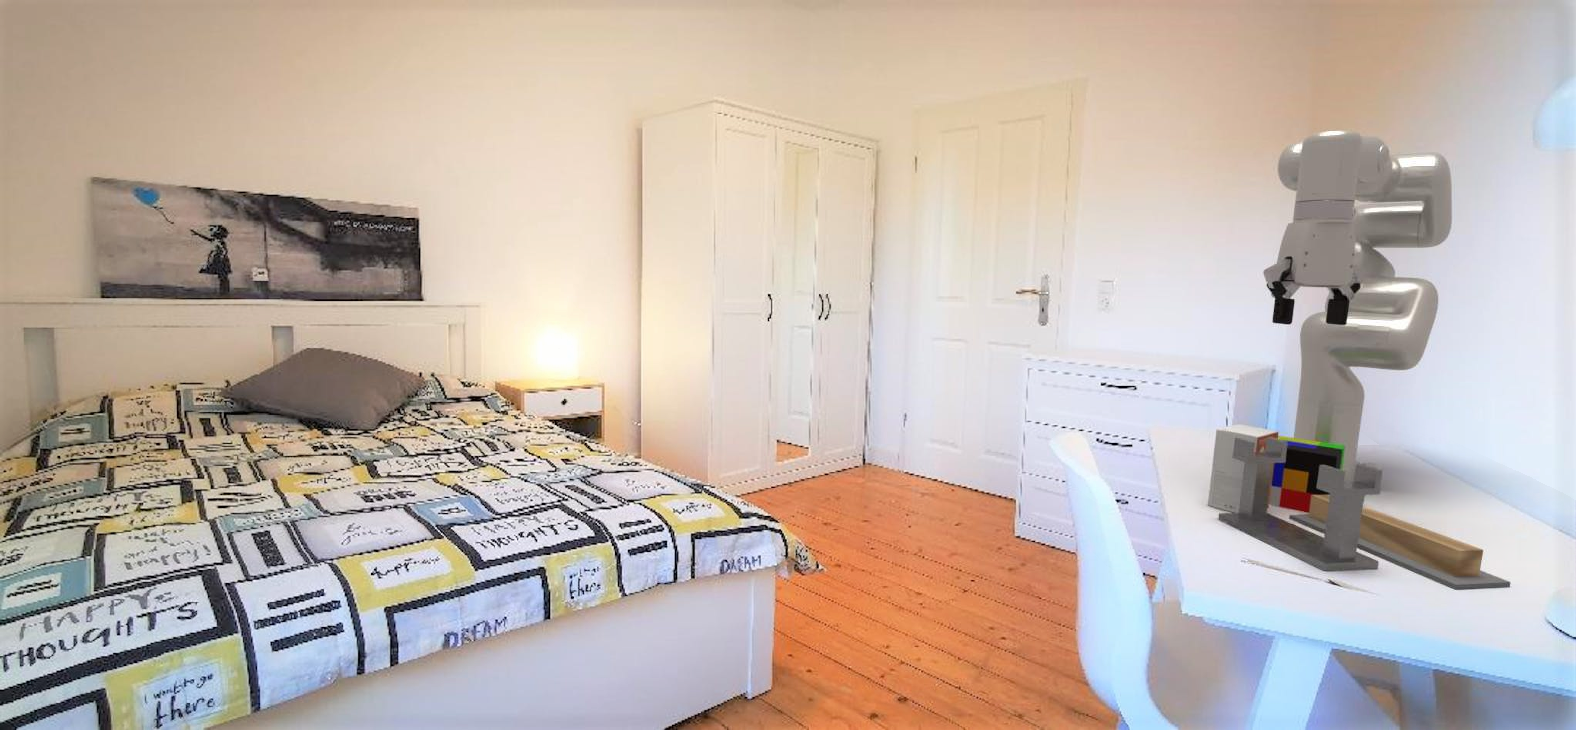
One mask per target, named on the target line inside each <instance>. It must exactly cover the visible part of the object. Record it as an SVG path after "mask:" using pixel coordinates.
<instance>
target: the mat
mask: <svg viewBox="0 0 1576 730" xmlns="http://www.w3.org/2000/svg"><path fill="white" fill-rule="evenodd" d="M1288 519H1290V520H1291V521H1292V520H1293V521H1294V522H1296V523H1299V524H1302V525H1304V526H1306V527H1308V528H1310V529H1313V530H1315V531H1318V532H1319V533H1322V534H1325V528H1326V524H1325V523H1323V522H1320V521H1318V520H1316V519H1313V518H1311V517H1309V513H1305V514H1289V518H1288ZM1357 549H1359V550H1362V551H1365V552H1367V553H1369V554H1372V555H1374V556H1376V557H1379V558H1381V559H1383V560H1386V561H1388V562H1391V563H1393V564H1395V565H1396V566H1400V567H1402V568H1404V569H1407V570H1409V571H1411V572H1414V573H1416V574H1419V575H1421V576H1423V577H1425V578H1427V579H1430V580H1433V581H1435V582H1438V583H1439V582H1440V583H1439V584H1442V585H1444V586H1447V587H1449V588H1451V589H1453V590H1468V589H1471V588H1472V589H1487V588H1488V589H1489V588H1505V587H1506V588H1507V587H1511V581H1508V580H1506V579H1504V578H1501V577H1498V576H1497V575H1494V574H1491V573H1488V572H1485V571H1483V570H1481V569H1480V573H1479V576H1469V577H1454V576H1452V575H1449V574H1447V573H1444V572H1442V571H1439V570H1437V569H1435V568H1432V567H1430V566H1427V565H1425V564H1422V563H1420V562H1418V561H1415V560H1413V559H1410V558H1408V557H1405V556H1403V555H1401V554H1398V553H1396V552H1393V551H1391V550H1388V549H1386V548H1384V547H1381V546H1379V545H1376V544H1374V543H1371V542H1369V541H1367V540H1364V539H1362V538H1359V537H1358V544H1357Z"/></svg>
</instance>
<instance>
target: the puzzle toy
mask: <svg viewBox="0 0 1576 730" xmlns="http://www.w3.org/2000/svg"><path fill="white" fill-rule="evenodd" d="M1278 439H1280V440H1283V441H1286V442H1288V444H1287V452H1286V462H1285V463H1274V470H1273V478H1272V485H1271V494H1270V501H1269V506H1273V507H1278V508H1283V509H1287V510H1292V511H1298V512H1302V513H1305V514H1309V510H1310V502H1311V495H1330V493H1328V492H1325V491H1322V490H1320V489H1317V488H1316V487H1317V482H1318V474H1319V466H1320V465H1327V466H1330V467H1333V468H1337V469H1340V470H1342V466H1343V458H1344V451H1345V446H1343V445H1336V444H1329V443H1323V442H1316V441H1310V440H1303V439H1296V438H1294V437H1289V436H1283V435H1278Z"/></svg>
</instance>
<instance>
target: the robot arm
mask: <svg viewBox="0 0 1576 730" xmlns="http://www.w3.org/2000/svg"><path fill="white" fill-rule="evenodd" d="M1277 174H1278V177H1279V180H1280V182H1281V183H1282V185H1283V186H1284V187H1285V188H1286V189H1288V190H1291V191H1294V192H1296V193H1295V202H1294V209H1293V217H1292V222H1290V223H1287V226H1286V228H1285V230H1284V232H1283V235H1282V240H1281V243H1280V247H1279V251H1278V256H1277V261H1276V263H1275V264H1273V265H1270V266H1268V267H1267V268H1265V269H1263V276H1264V280H1265V282H1266V288H1267V289H1268V290H1269V292H1270V293H1271V294H1270V296H1271V298H1272V299H1273V298H1274V304H1273V311H1272V312H1273V313H1272V323H1273V324H1279V325H1280V324H1281V325H1292V323H1293V319H1294V318H1293V316H1294V311H1295V302H1296V301H1295V298H1292V296H1294V294H1296V293H1297V291H1298V290H1299V289H1300V288H1301V287H1304V288H1305V287H1306V288H1327V290H1328V291H1329V292H1328V294H1327V297H1326V300H1325V303H1324V311H1320V312H1316V313H1314V314H1311V315H1309V316H1308V317H1307V318H1305V319H1304V321H1303V323H1302V325H1301V328H1300V333H1299V335H1300V336H1299V343H1300V344H1299V345H1300V354H1301V355H1300V356H1301V357H1300V358H1301V359H1300V361H1301V364H1300V365H1301V369H1300V370H1301V371H1300V379H1299V380H1300V381H1299V382H1300V383H1299V389H1298V390H1299V392H1298V399H1297V400H1298V401H1297V407H1296V409H1297V410H1296V417H1295V424H1294V433H1293V438H1296V439H1303V440H1310V441H1316V442H1323V443H1329V444H1336V445H1343V446H1345V451H1344V458H1343V466H1342V470H1343V471H1345V477H1344V482H1354V475H1355V468H1356V464H1361V462H1360V461H1357V460H1356V459H1357V453H1358V452H1357V451H1358V446H1359V438H1360V430H1361V425H1362V424H1361V423H1362V416H1363V409H1364V402H1365V389H1364V386H1363V384H1362V383H1361V381H1360V379H1359V378H1358V377H1357V375H1356V374H1355V373H1354V372H1353V371H1352V369H1351V368H1353V367H1355V368H1367V369H1368V368H1369V369H1379V370H1388V371H1389V370H1390V371H1406V370H1411V369H1412V368H1414V367H1416V366H1417V365H1418V364H1419V363H1420V361H1421V359H1422V357H1423V356H1424V353H1425V352H1426V351H1425V350H1426V348H1427V344H1428V341H1429V339H1430V335H1431V332H1432V330H1433V326H1434V323H1435V320H1436V318H1437V312H1438V309H1439V293H1438V289H1437V287H1436V286H1435V284H1433V283H1432V282H1431V281H1430V280H1427V279H1424V278H1418V277H1402V276H1401V277H1399V276H1398V277H1397V276H1396V277H1395V275H1396V270H1395V268H1394V266H1393V264H1392V263H1391V261H1389V260H1388V258H1387V257H1385V255H1383V254H1382V253H1381V252H1380V251H1378V250H1376V248H1377V249H1378V248H1383V249H1387V248H1388V249H1389V248H1390V249H1391V248H1393V249H1397V248H1399V249H1400V248H1403V249H1404V248H1405V249H1408V248H1410V249H1413V248H1415V249H1416V248H1419V249H1421V248H1423V249H1424V248H1427V249H1428V248H1432V247H1433V248H1434V247H1437V246H1439V245H1441V244H1443V242H1445V241H1447V239H1448V237H1449V234H1450V233H1451V231H1452V230H1451V229H1452V223H1453V222H1452V221H1453V219H1452V218H1453V211H1452V210H1453V206H1452V205H1453V204H1452V203H1453V202H1452V198H1453V197H1452V194H1453V193H1452V188H1453V187H1452V174H1451V169H1450V165H1449V162H1448V161H1447V159H1446V158H1445V157H1444V156H1443V155H1442V154H1440V153H1439V152H1419V153H1418V152H1417V153H1406V154H1404V153H1403V154H1390V150H1389V147H1388V145H1386V143H1385V142H1384V140H1382V139H1381V138H1380V137H1377V136H1375V135H1361V134H1360V133H1359V132H1357V131H1354V130H1347V129H1346V130H1343V129H1342V130H1338V129H1337V130H1328V131H1321V132H1314V133H1312V134H1309V135H1308V136H1307V137H1305V139H1304V140H1301V141H1295V142H1292V143H1291V144H1289V145H1288V146H1286V147H1285V148H1284V149H1283V150H1282V152H1281V153H1280V156H1279V158H1278V163H1277ZM1356 201H1357V202H1361V203H1365V204H1358V205H1355V203H1356ZM1374 248H1375V249H1374ZM1362 464H1363V465H1366V466H1369V467H1373V468H1376V469H1377V467H1376V465H1375V464H1374V463H1372V462H1371V463H1369V462H1368V463H1367V462H1366V463H1362Z"/></svg>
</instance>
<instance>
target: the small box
mask: <svg viewBox="0 0 1576 730" xmlns="http://www.w3.org/2000/svg"><path fill="white" fill-rule="evenodd" d="M1279 432H1280V431H1278V430H1273V429H1267V428H1263V427H1257V426H1254V425H1253V426H1252V425H1246V424H1243V423H1242V424H1241V423H1237V424H1234V425H1227V426H1224V427H1221V428H1219V429H1217V428H1216V433H1215V439H1214V449H1213V457H1212V464H1211V465H1212V466H1211V477H1210V484H1209V492H1208V493H1209V494H1208V501H1207V506H1209V507H1212V506H1213V507H1212V508H1216V509H1219V508H1220V510H1224V511H1227V512H1230V511H1231V512H1230V513H1239V505H1240V497H1241V488H1242V480H1243V471H1244V463H1245V462H1242V461H1239V460H1237V459H1234V458H1232V457H1233V450H1234V442H1235V438H1239V437H1240V438H1243V439H1246V440H1249V441H1252V442H1255V446H1254V452H1265V451H1266V442H1267V437H1273V438H1276V439H1278V436H1279ZM1273 470H1274V463H1272V471H1271V479H1270V487H1269V496H1268V504H1267V509H1268V508H1269V507H1270V505H1269V501H1270V494H1271V485H1272V478H1273Z"/></svg>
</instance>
